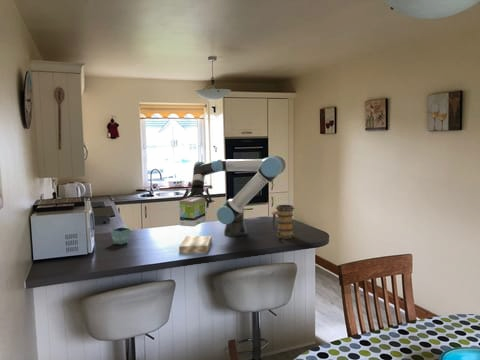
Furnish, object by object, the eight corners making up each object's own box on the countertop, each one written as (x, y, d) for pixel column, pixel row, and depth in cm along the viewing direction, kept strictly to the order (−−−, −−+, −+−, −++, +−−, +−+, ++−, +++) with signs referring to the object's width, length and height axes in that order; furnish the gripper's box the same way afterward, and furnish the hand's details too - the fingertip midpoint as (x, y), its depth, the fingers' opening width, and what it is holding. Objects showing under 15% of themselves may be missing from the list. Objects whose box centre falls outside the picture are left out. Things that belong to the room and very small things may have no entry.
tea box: (195, 227, 209) (194, 201, 208) (179, 226, 213) (178, 200, 211) (206, 221, 223) (205, 196, 222) (191, 220, 227) (190, 196, 225)
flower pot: (131, 242, 235) (130, 228, 234) (120, 246, 228) (119, 231, 227) (122, 240, 240) (121, 227, 239) (111, 244, 232) (110, 230, 231)
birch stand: (211, 242, 232) (211, 235, 231) (207, 253, 210) (207, 246, 209) (186, 242, 232) (185, 236, 232) (179, 253, 210) (179, 246, 210)
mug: (299, 237, 239) (299, 206, 237) (278, 241, 230) (278, 209, 228) (286, 232, 250) (286, 203, 248) (266, 237, 241) (265, 206, 238)
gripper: (217, 186, 236) (215, 215, 222) (180, 187, 237) (176, 215, 223) (216, 178, 230) (214, 208, 217) (178, 179, 231) (174, 208, 217)
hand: (195, 212), depth 220 cm, fingers closed on tea box, 11 cm apart
